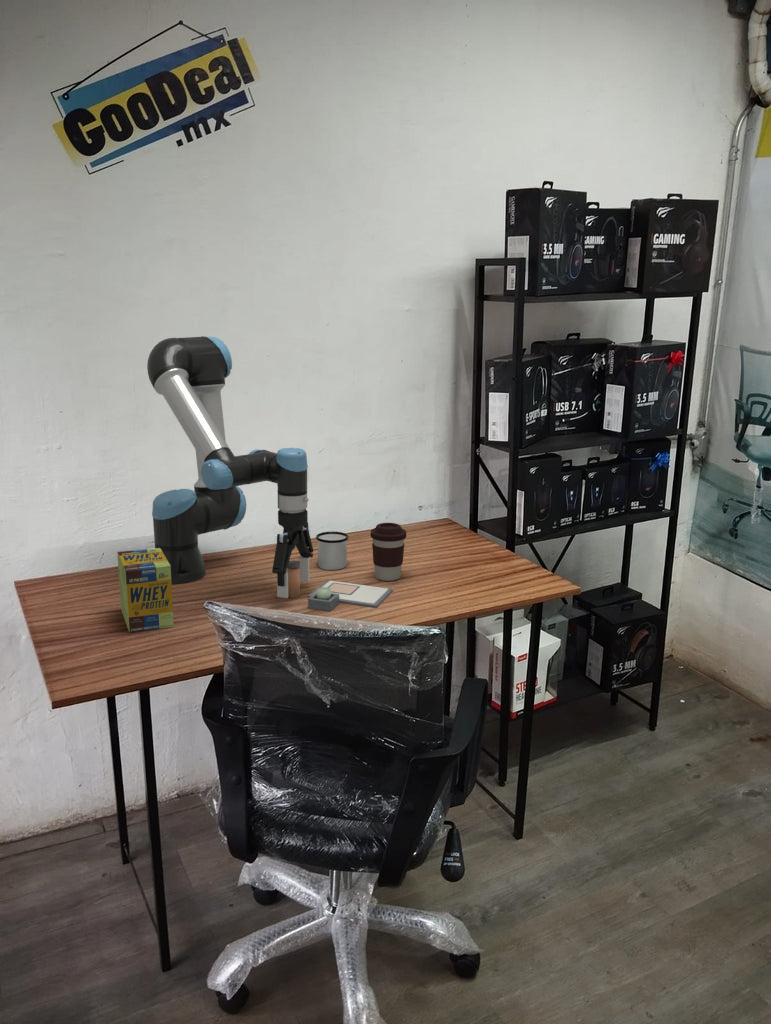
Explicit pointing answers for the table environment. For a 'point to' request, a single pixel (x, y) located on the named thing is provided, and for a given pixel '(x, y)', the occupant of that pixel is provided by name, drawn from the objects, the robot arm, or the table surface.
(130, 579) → the protein box
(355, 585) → the picture board
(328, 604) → the button housing
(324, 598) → the button
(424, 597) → the table surface
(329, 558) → the mug
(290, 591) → the marker
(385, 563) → the coffee cup
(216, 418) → the robot arm
